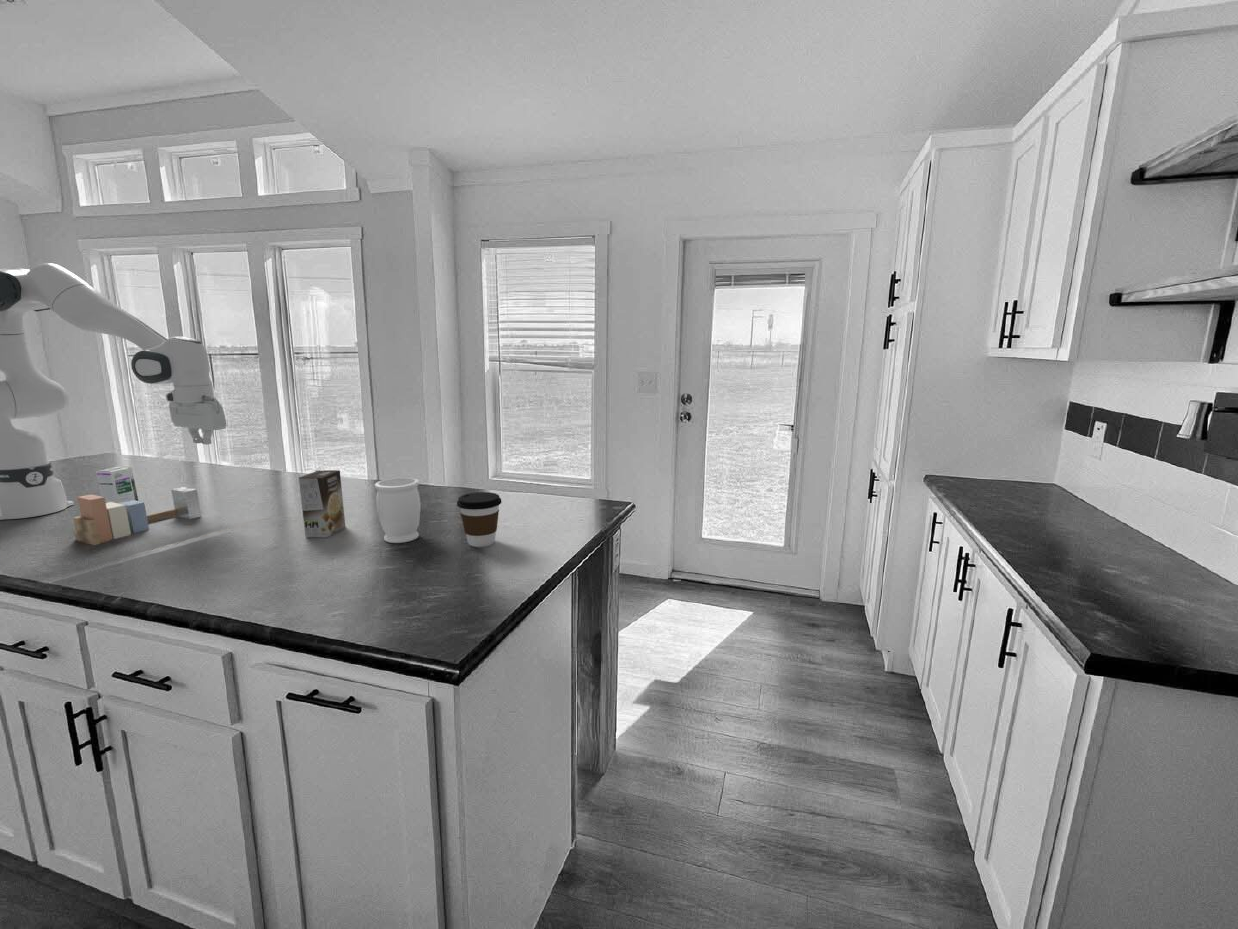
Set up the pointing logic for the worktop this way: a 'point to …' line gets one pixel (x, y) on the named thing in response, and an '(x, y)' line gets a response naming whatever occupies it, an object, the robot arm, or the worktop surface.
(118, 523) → the book
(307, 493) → the coffee box
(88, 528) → the rack
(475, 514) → the coffee cup
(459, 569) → the worktop surface
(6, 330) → the robot arm
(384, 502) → the jar
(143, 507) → the pale blue cuboid
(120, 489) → the syrup box
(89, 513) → the book
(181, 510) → the bookend
